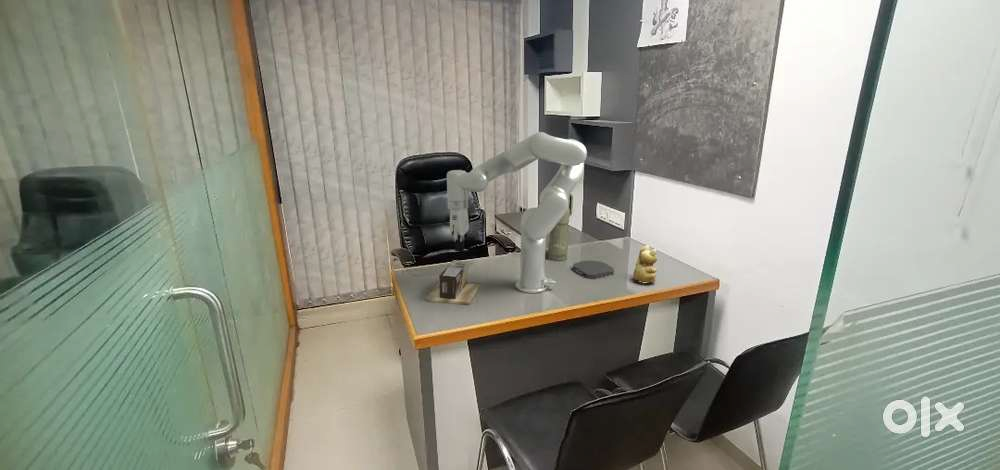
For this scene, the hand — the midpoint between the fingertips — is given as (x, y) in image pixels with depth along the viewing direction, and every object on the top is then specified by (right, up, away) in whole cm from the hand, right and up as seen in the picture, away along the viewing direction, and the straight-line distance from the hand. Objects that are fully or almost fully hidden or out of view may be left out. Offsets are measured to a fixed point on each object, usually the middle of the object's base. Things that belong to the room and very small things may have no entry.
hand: (459, 250), depth 175 cm
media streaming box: (+55, -10, +22) cm, 61 cm away
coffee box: (0, -8, +5) cm, 10 cm away
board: (-2, -16, -2) cm, 17 cm away
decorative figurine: (+74, -13, +12) cm, 76 cm away
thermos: (+42, -5, +38) cm, 57 cm away
